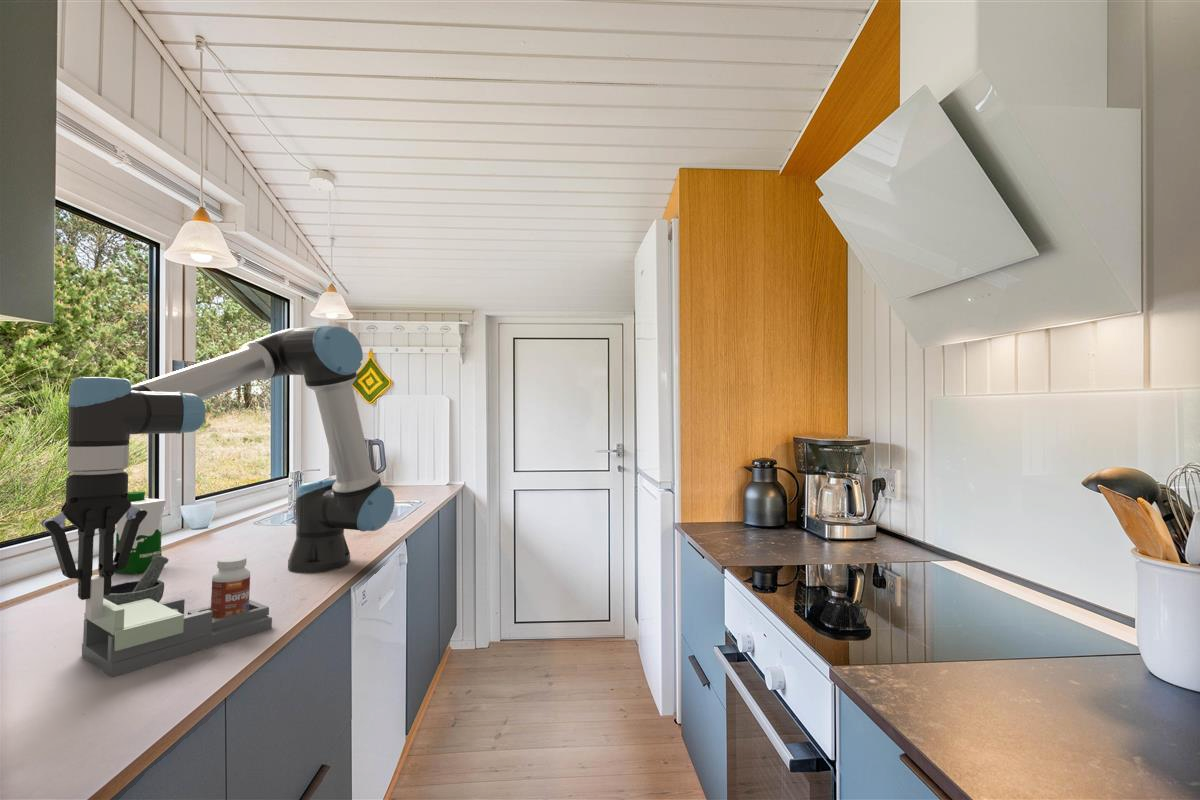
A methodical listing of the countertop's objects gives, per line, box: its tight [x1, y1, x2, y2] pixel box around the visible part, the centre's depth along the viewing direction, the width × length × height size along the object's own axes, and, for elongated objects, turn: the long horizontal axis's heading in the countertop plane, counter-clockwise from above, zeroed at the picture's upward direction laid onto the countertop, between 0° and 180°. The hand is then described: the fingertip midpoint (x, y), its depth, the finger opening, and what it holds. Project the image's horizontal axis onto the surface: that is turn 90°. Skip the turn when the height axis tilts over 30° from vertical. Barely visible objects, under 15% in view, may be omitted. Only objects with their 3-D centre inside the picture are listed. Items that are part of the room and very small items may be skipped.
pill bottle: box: [210, 555, 251, 619], centre depth 107 cm, size 6×6×11 cm
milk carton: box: [114, 491, 167, 575], centre depth 145 cm, size 9×9×20 cm
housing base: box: [81, 597, 273, 678], centre depth 101 cm, size 24×14×6 cm, turn 147°
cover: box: [83, 598, 185, 651], centre depth 94 cm, size 9×15×6 cm, turn 57°
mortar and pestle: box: [103, 555, 170, 605], centre depth 110 cm, size 11×9×12 cm
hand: (93, 617), depth 90 cm, fingers closed
